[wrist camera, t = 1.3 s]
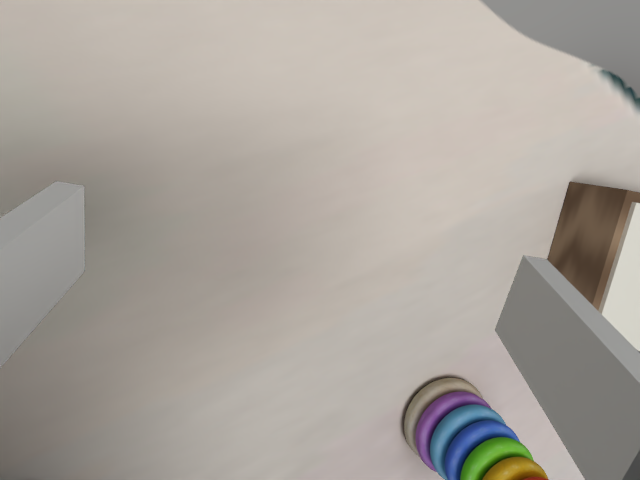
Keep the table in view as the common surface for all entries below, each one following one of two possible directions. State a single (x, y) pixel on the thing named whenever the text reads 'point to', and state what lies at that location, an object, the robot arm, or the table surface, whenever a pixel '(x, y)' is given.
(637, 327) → the base block
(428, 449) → the stacking toy
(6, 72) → the table surface
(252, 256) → the table surface
